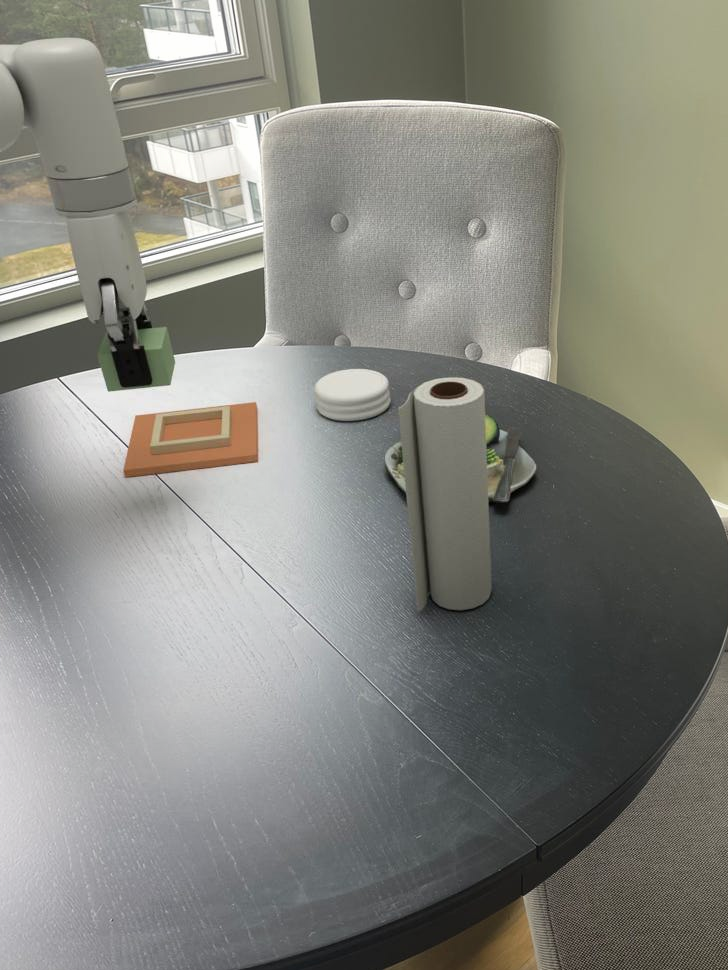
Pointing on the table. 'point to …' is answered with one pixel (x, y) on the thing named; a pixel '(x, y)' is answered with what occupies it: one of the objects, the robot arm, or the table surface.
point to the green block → (157, 357)
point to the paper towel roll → (447, 492)
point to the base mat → (192, 439)
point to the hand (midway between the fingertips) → (140, 370)
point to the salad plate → (503, 462)
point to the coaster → (352, 394)
